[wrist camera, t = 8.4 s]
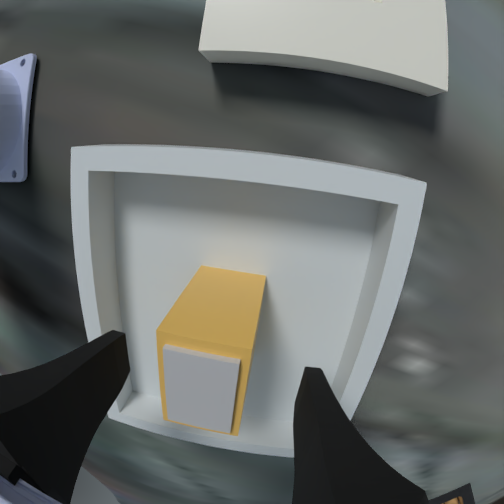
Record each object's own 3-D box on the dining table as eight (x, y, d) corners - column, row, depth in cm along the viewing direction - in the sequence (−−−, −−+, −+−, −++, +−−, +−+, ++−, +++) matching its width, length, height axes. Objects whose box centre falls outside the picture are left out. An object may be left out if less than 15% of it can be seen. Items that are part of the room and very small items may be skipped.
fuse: (197, 343, 16) (161, 423, 10) (201, 265, 14) (153, 334, 9) (253, 354, 16) (236, 441, 10) (266, 275, 14) (251, 354, 9)
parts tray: (126, 389, 19) (108, 418, 16) (107, 144, 14) (71, 147, 11) (327, 424, 18) (330, 459, 15) (400, 174, 13) (426, 182, 10)
